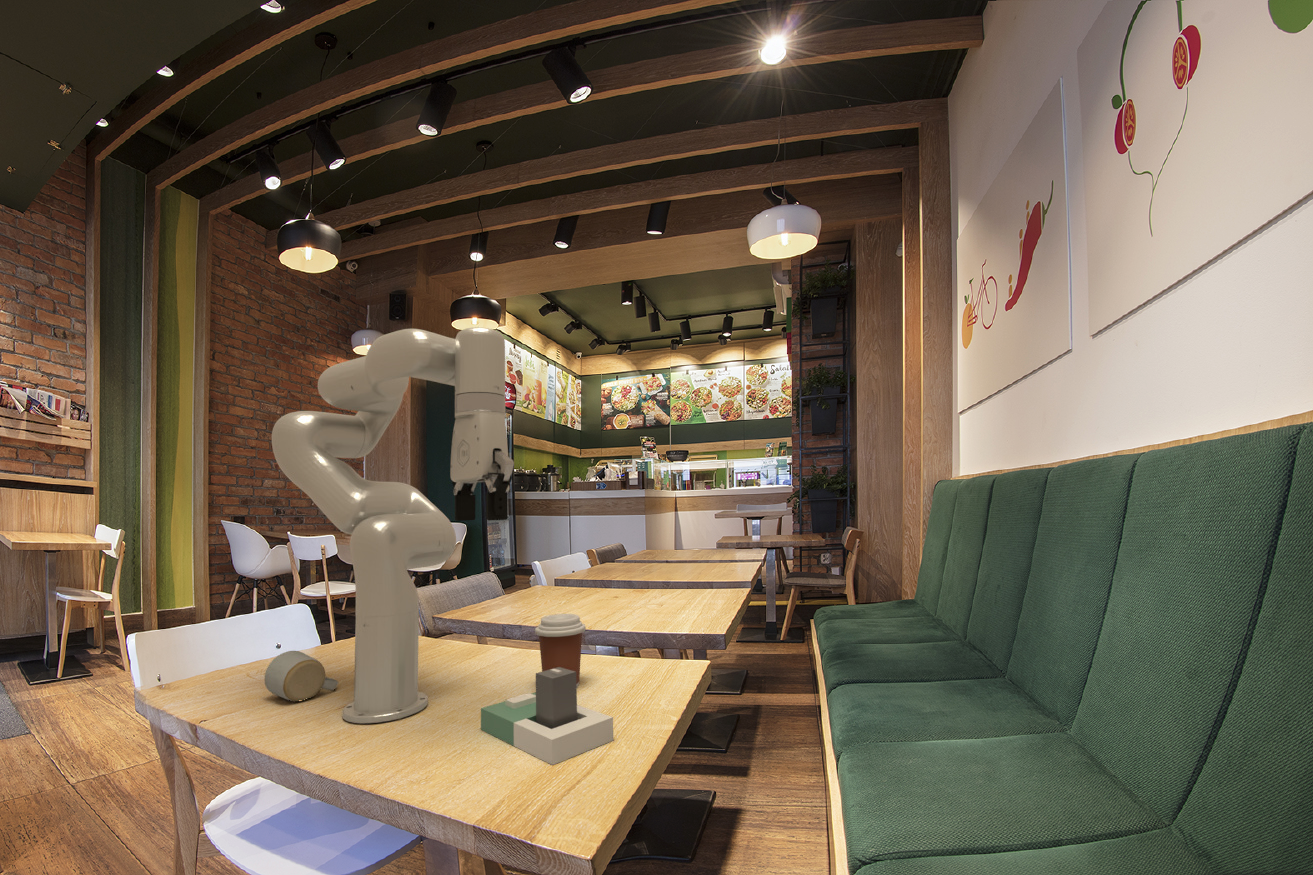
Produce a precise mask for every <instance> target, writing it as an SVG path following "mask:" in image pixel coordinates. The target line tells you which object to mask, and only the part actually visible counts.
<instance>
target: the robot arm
mask: <svg viewBox="0 0 1313 875" xmlns="http://www.w3.org/2000/svg"><path fill="white" fill-rule="evenodd" d="M410 378H415V379H419V380H425V381H430V382H436V383H439V384H444V385H449V386H453V387H454V419H455V420H454V426H453V430H452V431H453V432H452V438H451V439H452V440H451V451H450V452H451V453H450V470H449V472H450V480H451V482H452V483H451V484H452V486H453V495H454V520H455V521H457V522H460V521H461V522H462V521H463V522H465V521H474V520H476V494H474V492H475V488H476V487H477V484H478V483H485V485H486V486H487V489H488V492H486V494H485V507H486V508H485V513H486V514H485V515H486V516H485V517H486V520H487V521H504V520H505V521H506V520H507V519H508V518H509V516H508V514H509V510H508V509H509V507H508V506H509V504H508V503H509V500H508V498H509V497H508V493H509V492H510V483H511V481H512V479H513V477H512V474H513V469H514V466H515V461H514V460H513V459H512V458H510V456H509V449H508V446H509V445H508V434H507V426H506V340H505V338H504V335H502V333H501V332H499V331H498V330H495V329H492V328H489V327H479V326H478V327H468V328H464V329H461V330H460V331H459V332H457V334H456V336H455V338H453V337H448V336H446V335H442V334H438V333H437V332H436V333H435V332H431V331H428V330H424V329H419V328H403V329H400V330H396V331H393V332H390V333H386V334H383V335H381V336H379V337H376V339H375V340H374V341H373V342H372V344H371V346H370V347H369V349H368V350H367V353H366V355H364V356H361V357H357V358H354V359H349V360H347V361H342V362H340V363H337V364H334V365H332V366H330V367H327V368H326V369H325V370H324V371H323V372H322V373H321V374H320V376H319V378H318V380H317V390H318V394H319V395H320V396H321V398H322V399H323V401H325V402H326V403H328V404H329V405H330V406H332V407H334V408H338V409H342V410H347V411H353V412H354V411H357V413H355V415H350V414H340V413H334V412H325V411H316V410H297V411H292V412H288V413H287V414H284V415H282V416H280V417H279V418H278V420H276V422H275V423H274V425H273V427H272V432H271V446H272V452H273V455H274V459H275V460H276V463H277V465H278V467H279V468H280V470H281V472H283V474H284V475H285V476H286V477H287V478H288V479H289V480H290V481H291V482H292V483H293V484H294V485H295V486H296V487H298V488H299V490H301V491H302V492H303V493H305V494H306V495H307V496H308V497H309V498H310V499H311V500H312V502H313V503H314V504H315V505H316V506H317V507H318V509H319V510H320V511H321V512H322V513H323V514H324V516H326V518H327V519H328V520H329V521H330V522H331V523H332V524H333V525H334V526H335V528H337V529H338V530H339V531H341V532H343V533H344V534H347V535H350V536H351V537H350V540H349V552H350V556H351V557H350V559H351V561H352V562H351V563H352V567H353V574H354V583H355V584H354V585H355V628H354V629H355V631H354V632H355V636H354V637H355V638H354V639H355V640H354V673H353V674H354V678H353V679H354V682H353V701H351V702H350V703H348V704H346V706H344V707H343V709H342V719H344V720H345V721H346V722H349V723H353V724H375V723H377V724H378V723H385V722H390V721H394V720H399V719H402V718H406V717H408V716H412V715H414V714H416V713H419V712H421V711H422V710H424V709H426V708H425V707H427V706H428V702H429V700H428V698H429V697H428V695H427V694H426V693H425V692H422V691H419V637H420V634H419V631H420V630H419V626H420V625H419V624H420V622H419V620H420V619H419V617H420V613H419V612H420V610H419V609H420V608H419V607H420V606H419V605H420V603H419V602H420V600H419V592H418V589H417V587H416V585H415V583H414V581H413V580H412V578H411V576H410V574H409V572H408V570H412V569H419V568H420V569H421V568H428V567H434V566H437V565H440V564H442V563H444V562H446V561H448V560H449V559H450V558H451V557H452V555H453V553H454V551H455V550H456V546H457V536H456V531H455V528H454V525H453V524H452V523H451V521H450V519H449V518H448V517H447V516H446V515H445V514H444V513H443V512H442V511H441V510H440V509H439V508H438V507H437V506H436V505H435V504H434V503H432V502H431V501H430V500H429V499H428V497H426V496H425V495H424V494H423V493H422V492H421V491H420V490H419V489H418V488H416V487H414V486H413V485H410V484H407V483H404V482H401V481H400V482H399V481H376V480H368V479H366V478H364V477H362V476H361V475H360V474H359V473H358V472H357V471H355V469H353V467H352V466H351V465H349V464H348V463H346V462H345V461H343V460H341V459H359V458H363V457H365V456H367V455H369V454H370V453H371V452H372V451H373V450H374V448H375V447H376V445H378V443H379V441H380V440H381V438H382V437H383V435H384V433H385V431H386V430H387V428H388V427H389V425H390V424H391V422H392V420H393V419H394V418H395V416H396V414H397V413H398V411H399V410H400V406H401V404H402V402H403V399H404V395H405V392H406V391H407V390H408V387H409V385H410V384H409V382H410ZM339 458H341V459H339Z"/></svg>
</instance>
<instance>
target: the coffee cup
mask: <svg viewBox="0 0 1313 875" xmlns="http://www.w3.org/2000/svg"><path fill="white" fill-rule="evenodd" d="M580 619H581V618H580V615H578V614H576V613H574V614H573V613H557V614H556V613H555V614H549V615H545V616H543V617H541V618H540V623H539V624H538V626H537V627H535V629H534V634H535V636H536V635H537V636H538V639H539V640H538V641H539V650H540V651H539V652H540V661H541V662H540V664H541V672H543V671H546V670H550V669H554V668H557V667H561V668H565V669H568V670H572V671H575V672H576V685H577V688H578V687H579V686H580V678H581V677H580V674H581V656H582V641H583V640H582V638H583V633H584V632H585V631H587V630H586V628H587V627H586V625H585V624H584V623H583V622H582V621H581V620H580Z"/></svg>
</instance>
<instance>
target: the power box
mask: <svg viewBox="0 0 1313 875" xmlns="http://www.w3.org/2000/svg"><path fill="white" fill-rule="evenodd" d="M480 731H483V732H485V733H487V734H488V735H491V736H493V737H495V738H497V739H499V740H501V741H503V742H505V743H506V744H509V745H511V746H513V747H515V748H517V749H519V750H521V751H523V752H525V753H527V754H529V755H532V756H533V757H535V758H537V759H539V760H541V761H543V762H545V763H547V764H549V765H551V766H554V765H556V764H559V763H560V762H561V763H562V762H564V761H566V760H568V759H569V760H570V759H571V758H573V757H577V756H579V755H581V754H583V753H585V752H588V751H591V750H593V749H595V748H598V747H600V746H602V745H605V744H608V743H610V742H613V741H614V717H612V716H610V715H608V714H605V713H602V712H599V711H596V710H593V709H591V708H587V707H584V706H582V705H579V704H577V720H576V721H573V722H570V723H568V724H565V725H562V726H559V727H556V728H553V729H550V728H548V727H545V726H543V725H540V724H538V723H536V691H535V692H531V693H530V692H528V693H525V694H521V695H517V696H513V697H510V698H508V699H505V700H504V701H501V702H500V701H499V702H498V703H494V704H490V705H487V706H484V707H480Z"/></svg>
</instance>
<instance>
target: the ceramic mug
mask: <svg viewBox="0 0 1313 875" xmlns="http://www.w3.org/2000/svg"><path fill="white" fill-rule="evenodd" d="M264 684H265V687H266V689H267V690H268V691H269V692H270V693H271V694H273V695H274V696H276V697H277V696H278V697H280V698H282V699H284V700H286V701H289V700H290V701H289V702H295V701H299V700H304V699H306V698H310V697H312V698H313V697H315V696H316V695H317V694H318V693H319V692H320V691H321V689H322V690H326V691H327V690H328V691H334V690H333V689H335V688H336V689H337V687H338V685H339V681H338V680H337V679H334V678H331V677H328V676H326V670H325V667H324V665H323V664H322V663H321V661H319V660H318V659H316V658H314V657H312V656H310V655H308V654H306V653H305V652H302V651H299V650H288V651H285V652H282V653H280V654H278V655H277V656H276V657H274V659H272V660H271V661H270V663H269V664H268V665H267V668H266V670H265V673H264ZM336 689H335V690H336ZM310 699H311V698H310ZM304 701H305V700H304ZM299 702H300V701H299Z"/></svg>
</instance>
